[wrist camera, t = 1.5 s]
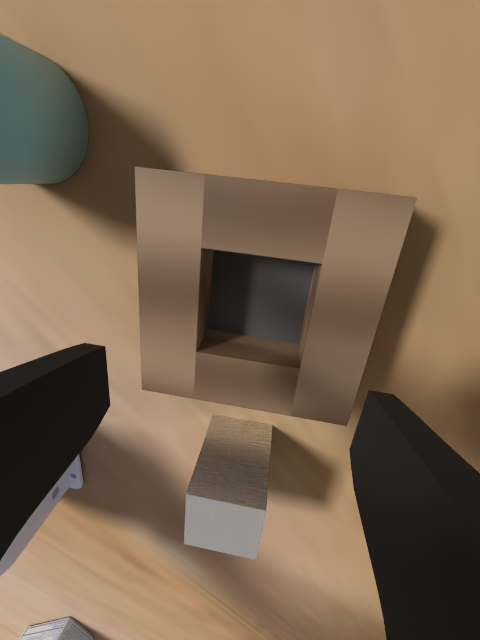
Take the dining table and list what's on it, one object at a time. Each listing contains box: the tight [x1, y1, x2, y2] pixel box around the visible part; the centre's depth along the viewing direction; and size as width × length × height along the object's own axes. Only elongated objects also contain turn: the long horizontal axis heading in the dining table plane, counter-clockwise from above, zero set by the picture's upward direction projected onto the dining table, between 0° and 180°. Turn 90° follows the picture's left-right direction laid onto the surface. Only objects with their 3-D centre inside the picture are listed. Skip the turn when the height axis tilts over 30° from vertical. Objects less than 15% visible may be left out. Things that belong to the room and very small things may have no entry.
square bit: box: [184, 414, 272, 560], centre depth 19 cm, size 4×4×6 cm
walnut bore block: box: [135, 167, 417, 426], centre depth 16 cm, size 11×11×3 cm
